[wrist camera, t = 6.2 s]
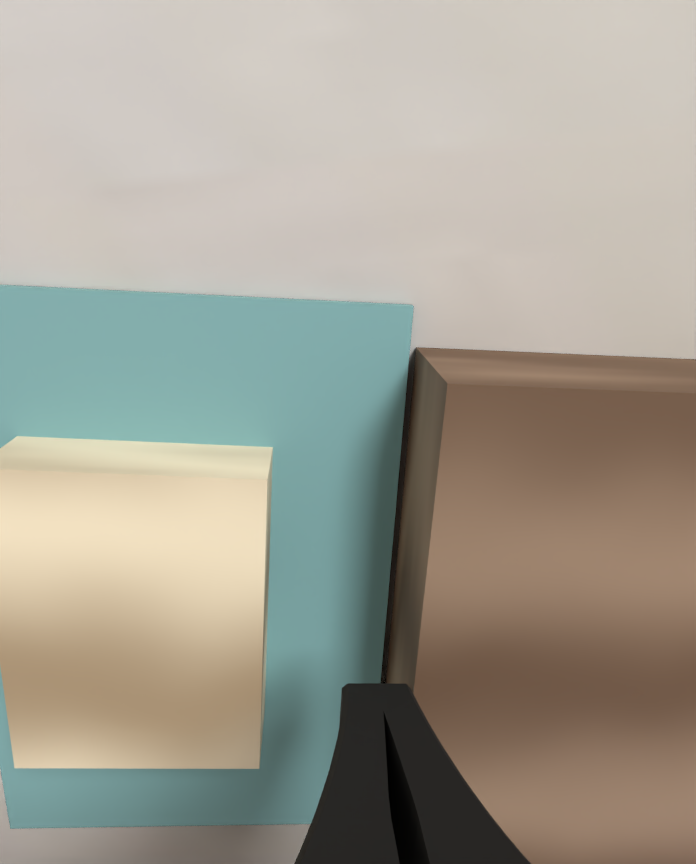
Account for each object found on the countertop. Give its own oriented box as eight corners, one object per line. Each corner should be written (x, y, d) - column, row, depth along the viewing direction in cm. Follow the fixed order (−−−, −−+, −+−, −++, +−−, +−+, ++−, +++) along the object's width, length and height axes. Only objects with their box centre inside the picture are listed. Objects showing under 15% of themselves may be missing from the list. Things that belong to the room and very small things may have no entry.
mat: (367, 814, 19) (368, 823, 19) (15, 819, 18) (10, 828, 18) (411, 304, 14) (413, 306, 14) (-73, 281, 13) (-82, 282, 13)
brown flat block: (680, 786, 20) (756, 900, 16) (375, 790, 19) (389, 909, 16) (808, 364, 15) (947, 403, 12) (416, 347, 14) (447, 383, 11)
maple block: (14, 768, 15) (47, 707, 17) (259, 769, 15) (264, 709, 17) (-28, 468, 12) (17, 435, 14) (267, 479, 13) (272, 447, 15)
